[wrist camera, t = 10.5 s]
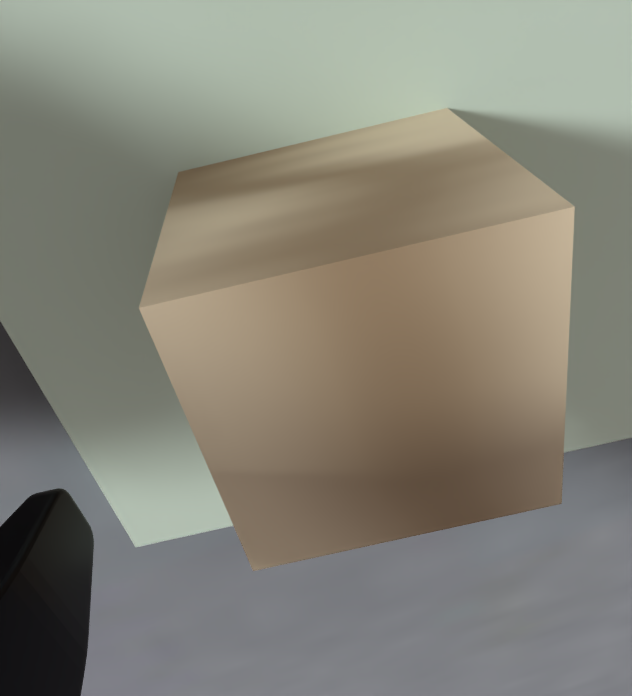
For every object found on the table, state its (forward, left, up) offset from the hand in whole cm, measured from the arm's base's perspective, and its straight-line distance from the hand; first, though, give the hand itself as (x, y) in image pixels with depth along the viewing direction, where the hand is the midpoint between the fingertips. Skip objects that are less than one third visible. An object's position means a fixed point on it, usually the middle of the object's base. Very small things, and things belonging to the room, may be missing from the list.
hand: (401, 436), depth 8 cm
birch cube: (0, 0, -5) cm, 5 cm away
